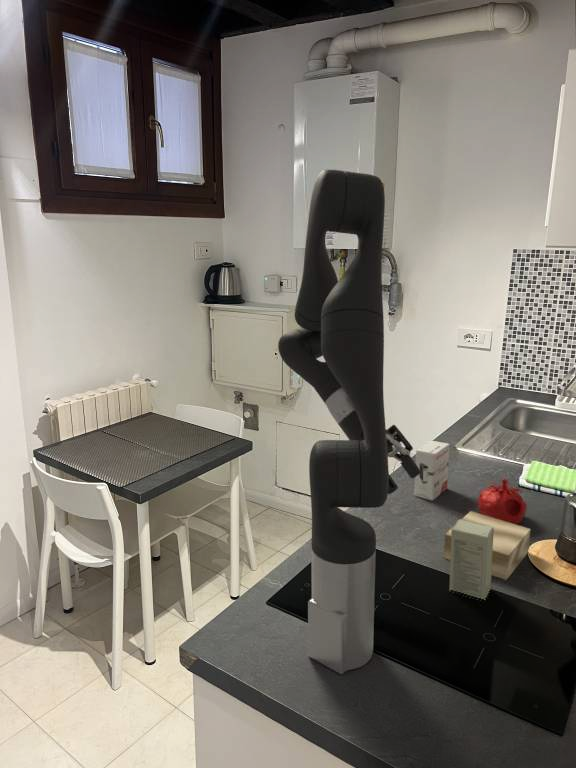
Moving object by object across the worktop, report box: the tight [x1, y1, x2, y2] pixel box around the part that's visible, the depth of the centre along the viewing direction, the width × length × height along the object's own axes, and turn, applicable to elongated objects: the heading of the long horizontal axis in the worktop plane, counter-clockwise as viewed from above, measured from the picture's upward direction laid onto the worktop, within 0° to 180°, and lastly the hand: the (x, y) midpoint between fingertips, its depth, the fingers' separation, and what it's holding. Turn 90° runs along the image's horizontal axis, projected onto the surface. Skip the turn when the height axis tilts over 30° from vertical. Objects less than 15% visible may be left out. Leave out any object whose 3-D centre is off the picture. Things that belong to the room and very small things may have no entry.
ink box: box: [414, 440, 450, 501], centre depth 138 cm, size 9×5×12 cm, turn 141°
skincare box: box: [449, 518, 494, 601], centre depth 100 cm, size 6×4×12 cm
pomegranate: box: [477, 478, 528, 525], centre depth 125 cm, size 10×10×9 cm
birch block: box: [443, 510, 531, 581], centre depth 112 cm, size 12×12×5 cm
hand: (405, 483), depth 105 cm, fingers open, 8 cm apart
